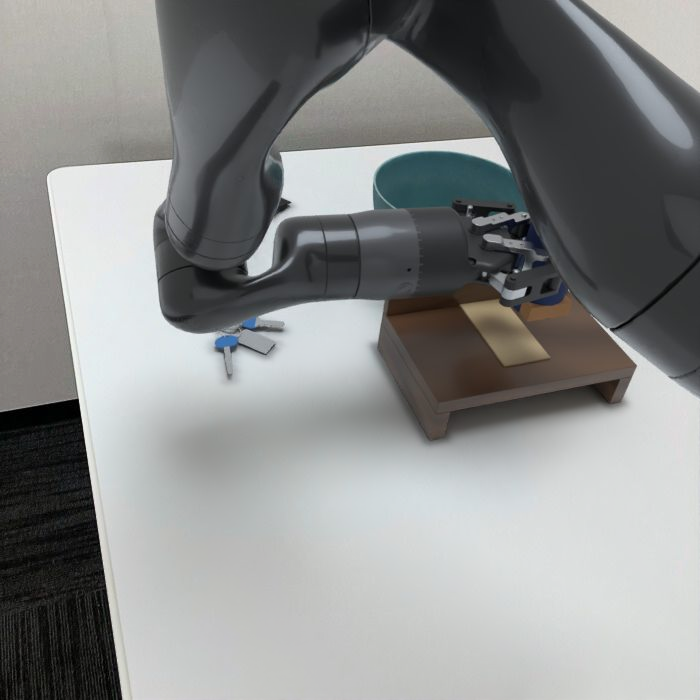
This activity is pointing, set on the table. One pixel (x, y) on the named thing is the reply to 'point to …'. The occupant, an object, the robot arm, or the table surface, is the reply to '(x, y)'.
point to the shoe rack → (492, 353)
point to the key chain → (247, 338)
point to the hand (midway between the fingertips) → (579, 243)
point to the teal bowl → (442, 181)
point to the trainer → (547, 305)
